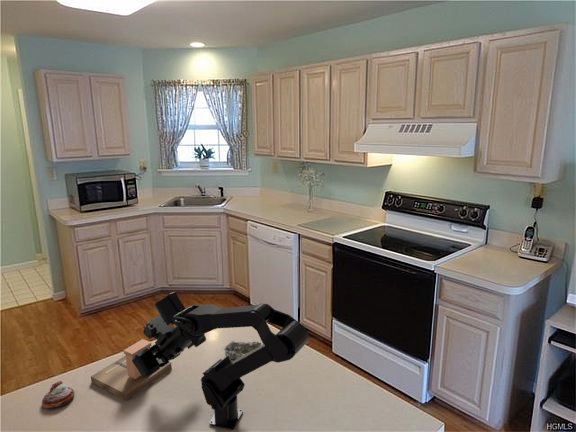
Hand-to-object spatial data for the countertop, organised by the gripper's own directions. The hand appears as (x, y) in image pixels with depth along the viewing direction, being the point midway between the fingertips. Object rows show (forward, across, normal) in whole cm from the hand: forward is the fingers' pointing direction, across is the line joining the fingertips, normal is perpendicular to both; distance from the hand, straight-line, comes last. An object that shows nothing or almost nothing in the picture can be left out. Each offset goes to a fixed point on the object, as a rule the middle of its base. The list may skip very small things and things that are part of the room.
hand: (153, 361), depth 110 cm
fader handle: (+8, 0, 0) cm, 8 cm away
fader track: (+12, 0, -1) cm, 12 cm away
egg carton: (-3, -24, +15) cm, 28 cm away
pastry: (+19, +17, -7) cm, 26 cm away
